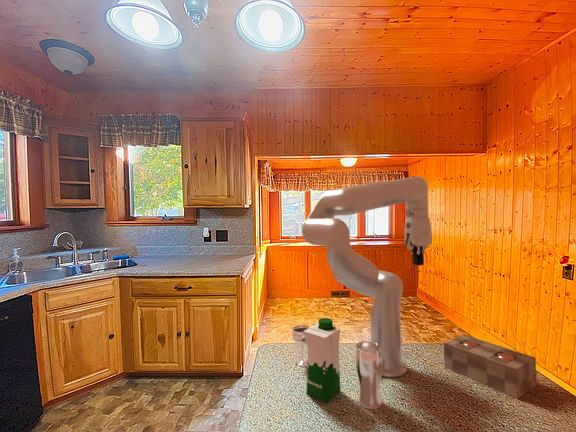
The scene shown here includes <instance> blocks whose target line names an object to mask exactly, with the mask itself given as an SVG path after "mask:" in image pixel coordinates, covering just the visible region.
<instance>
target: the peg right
mask: <svg viewBox="0 0 576 432" xmlns="http://www.w3.org/2000/svg"><path fill="white" fill-rule="evenodd" d="M497 357H500V358H503V359H505V360H508V361H513V360H514V357H513V356H511V355H509V354H506V353H498V354H497Z"/></svg>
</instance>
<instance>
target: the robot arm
mask: <svg viewBox="0 0 576 432" xmlns="http://www.w3.org/2000/svg"><path fill="white" fill-rule="evenodd" d="M428 188H429V186H428V182H427V181H426V179H425V178H423V177H422V176H411V177H406V178H405V177H404V178H399V179H393V180H387V181H386V180H385V181H376V182H374V181H373V182H370V183H365V184H358V185H353V186H348V187H340V188H337V189H336V188H335V189H330V190H327V191H325V192H323V194H322V195H321V196H320V198H319V199H318V200H317V201H316V203H315V205H314V206H313V208H312V209H311V211H310V213H309V214H308V216H307V217H306V220H305V221H304V222H303V225H302V229H301V233H302V237H303V239H304V240H305V242H307V243H308V244H310V245H314V246H322V247H325V248H326V260H327V265H328V267H329V268H330V269H331V272H332V275H333V277H334V279H335V280H336V282H338V283H340V284H341V285H342V286H345V287H346V288H348V289H350V290H352V291H354V292H356V293H357V294H360V295H363V296H366V297H370V298H371V299H374V303H373V305H372V306H371V308H370V313H369V319H370V320H369V323H370V342H374V343H377V344H378V345H380V347H381V354H382V375H381V377H387V378H399V377H402V376H404V375H406V373H407V372H408V366H407V364H406V363H405V362H404V360H402V331H401V329H402V327H401V325H402V323H401V303H402V297H403V290H404V284H403V280H402V279H401V278H400V276H398V274H395V273H393V272H389V271H385V270H381V269H378V268H377V266H376V265H375V264H374V263H373V262H372V261H370V260H369V259H367V258H366V257H364V256H363V255H361V254H360V253H357V252H356V251H355V250H354V249H352V246H351V239H350V237H351V234H350V229H349V227H348V225H347V223H346V222H344V221H343V220H342V219H340V218H338V216H352V215H355V214H356V215H357V214H359V213H363V212H368V211H371V210H376V209H379V208H380V209H382V208H386V207H390V206H394V205H398V204H405V220H404V221H405V222H404V229H403V230H404V232H403V233H404V234H403V235H404V236H403V237H404V244H405V245H406V249H407V250H409V251H411V252H410V253H411V254H412V263H413V265H414V266H423V265H424V263H425V262H424V260H425V259H424V254H425V250H426V249H428V248H429V246H430V245H432V244H433V232H432V224H431V220H430V217H429V198H428V197H429V194H428V193H429V191H428ZM335 216H337V217H335Z"/></svg>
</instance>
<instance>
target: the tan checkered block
mask: <svg viewBox="0 0 576 432" xmlns="http://www.w3.org/2000/svg"><path fill="white" fill-rule="evenodd" d="M464 341H470V342H474V343H476V344H477V347H475V348H472V347H469V346H466V345H463V342H464ZM498 353H506V354H509V355H511V356H513V357H514V360H513V361H508V360H505V359H503V358H500V357H497V354H498ZM443 356H444V357H443V359H444V360H443V362H444V363H443V364H444V368H446V369H448V370H451V371H452V372H455V373H457V374H459V375H461V376H464V377H466V378H468V379H470V380H473V381H475V382H477V383H479V384H482V385H484V386H486V387H489V388H490V389H493V390H495V391H497V392H500V393H502V394H504V395H506V396H508V397H511V398H514V399H516V400H518V399H520V398H522V396H524V395H526V394H527V393H528V392H530V391H531V390H533V388H535V387H536V386H537V367H536V366H537V364H536V363H537V361H536V358H537V357H534V356H531V355H528V354H525V353H523V352H519V351H516V350H515V349H514V350H513V349H510V348H507V347H503V346H501V345H498V344H495V343H491V342H489V341H487V340H482V339H480V338H476V337H473V336H471V335H470V336H469V335H467V334H462V335H459V336H457V337H455V338H452V339H450V340H449V339H448V340H446V341H444V342H443Z"/></svg>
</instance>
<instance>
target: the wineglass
mask: <svg viewBox="0 0 576 432" xmlns="http://www.w3.org/2000/svg"><path fill="white" fill-rule="evenodd" d="M309 327H310V326H309V325H304V324H300V325H295V326H293V327H292V328H291V330H292V335H291V336H292V340H293V341H294V342H295V343H296V344H298V345H300V349H301V350H300V351H301V352H300V353H301V360H302V361H300V360H298V361H299V362H298V365H301V366H306V365H307V360H305V361H303V360H304V346H305V345H306V340H305V336H304V332H303V331H305V330H307V329H308V328H309Z"/></svg>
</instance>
